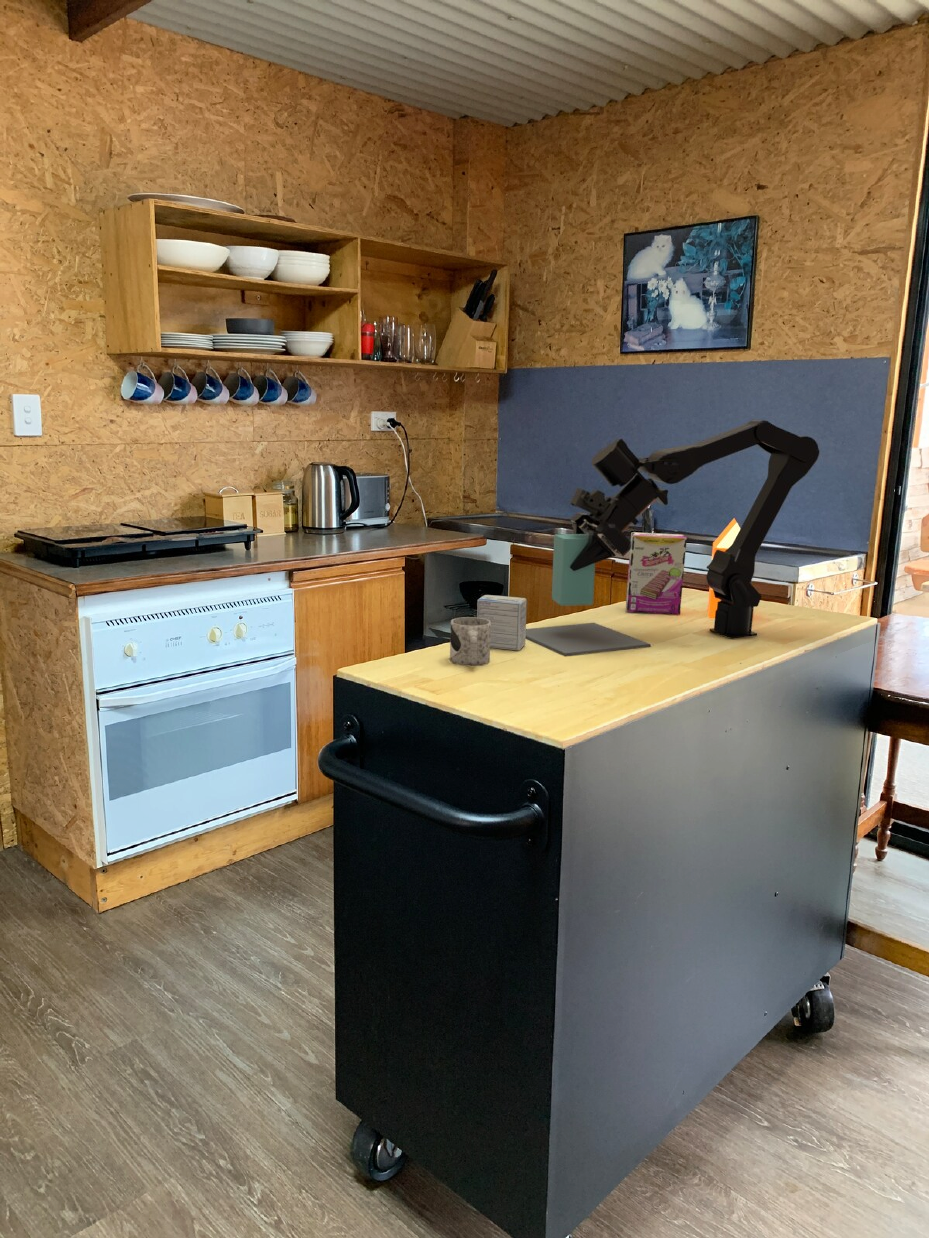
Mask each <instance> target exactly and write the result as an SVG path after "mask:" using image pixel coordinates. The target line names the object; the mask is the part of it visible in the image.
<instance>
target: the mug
mask: <svg viewBox="0 0 929 1238" xmlns="http://www.w3.org/2000/svg"><path fill="white" fill-rule="evenodd" d="M449 636H450V638H449V640H450V641H449V642H450V643H449V661H450V663H452V664H455V665H458V666H466V667H479V666H484V665H488V664H490V662H491V648H490V637H491V621H490V620H487V619H484V618H477V616H476V617H473V616H471V617H470V616H466V617H465V616H463V617H456V618H453V619H451V620H450V635H449Z"/></svg>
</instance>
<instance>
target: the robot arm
mask: <svg viewBox="0 0 929 1238" xmlns="http://www.w3.org/2000/svg"><path fill="white" fill-rule="evenodd" d="M755 446H758V447H759V448H760V449H762V450H763V451H764V452H766V453H768V454H770V456H769V459H768V465H767V467H768V469H767V478H766V479H765V481H764V483H763V485H762V486H761V489H760V491H759V493H758V495H757V497H756V498H755V500H754V502H753V504H752V506H751V508H750V510H749V512H748V514H747V515H746V517H745V519H744V521H743V523H742V525H741V527H740V528H741V529H740V531H739V532H738V534H737V536H736V538H735V540H734V542H733V544H732V545H731V546H730V547H729V548H728V549H727V550H726V551H721V550H716V552H715V554H714V557H713V559H712V558H711V562H710V563H708V565H707V566H706V569H707V573H706V576H705V578H706V581H707V584H708V586H709V588H711V589H713V592H714V596H715V598H717V599H720V600H721V601H719V602H718V603H717V610H716V611H715V619H714V624H713V627H712V628H709V630H708V631H709V632H711V633H714V634H717V635H720V636H722V637H726V638H729V639H739V638H740V639H741V638H749V637H757V636H758V632H755V631H752V629H753V619H754V608H756V607H758V606H759V604H760V603H761V599H762V594H761V593H760V592H758V590H757V589H756V588H755V587H754V586H753V585H752V580H753V577H754V575H755V571H756V568H755V567H756V556H757V554H758V552H759V551H760V548H761V546H762V544H763V543H764V541H765V539H766V537H767V536H768V533H769V532H770V529H771V527H772V525H773V524H774V522H775V520H776V518H777V516H778V514H779V512H780V511H781V509H782V507H783V506H784V503H785V502H786V499H787V497H788V495H789V493H790V491H791V490H792V488H793V487H794V486H795V485H796V484H797V483H798V482H800V481H801V480H802V479H803V478H805V476H807V474H808V473H809V472H810V471H811V469H812V468H813V466H814V465H815V464H816V462H817V461H818V459H819V456H820V448H819V445H818V443H817V442H816V440H815V439H814V438H812V437H810V436H805V435H803V436H802V435H798V434H795V433H793V432H790V431H788V430H785V429H783V428H780V427H778V426H777V425H775V424H772V423H771V422H769V421H768V420H763V419H762V420H761V419H759V420H758V419H755V420H754V419H753V420H750V421H748V422H747V423H745V424H742V425H739V426H738V427H735V428H733V429H730V430H727V431H724V432H723V433H719V434H717V435H715V436H712V437H709V438H706V439H704V440H701V441H699V442H695V443H693V444H688V445H682V446H675V447H670V448H669V447H668V448H665V449H664V448H663V449H658V450H656V451H653V452H651V454H649V456H648V457H647V456H646V457H637V456H636V455H635V454H634V453H633V451H631V449H630V448H629V446H628V444H627V443H626V441H624V440H623V438H616V439H615V440H614V441H613V442H612V443H610V444H608V445H607V446H605V447H604V448H601V449H600V450H599V451H598V452H596V454H595V455H594V456H593V458H592V459H591V461H590V464H591V466H593V468H594V469H595V470H596V471H597V472H598V474H600V476H601V477H603V479H604V480H605V481H606V482H607V483H608V485H610V487H615V486H618V487H620V488H621V487H622V488H621V489H619V491H618V492H617V493H616V494H615V495H614V496H613V497H612V496H607V497H606V496H605V494H606V493H604V492H603V491H601V490H598V489H593V490H592V491H591V492H590V491H587V490H585V489H582V488H576V489H575V491H574V494H573V496H572V498H571V500H570V502H569V505H572V506H573V507H578V508H579V509H582V510H584V511H586V512H587V513H585V512H576V513H575V514H574V515H573V516H572V517H571V518H570V522H571V523H572V526H571V527H572V529H573V534H587V535H589V539H588V543H587V545H586V546H585V547H584V548H583V550H582V551H581V552H580V554H579V555H578V556H577V557H576V559H575V560H574V561H573V563H572V564H571V566H570V568H571V569H572V570H573V571H576V570H578V569H581V568H583V567H586V566H589V565H591V564H594V563H595V564H596V563H598V562H602V561H604V560H607V559H610V558H615V557H617V555H618V556H621V557H623V558H624V557H625V556H626V555H627V553H629V552H630V549H631V539H629V538H628V537H627V535H625V534H624V532H625V531H626V530H627V529H629V527H630V526H631V525H633V526H636V525H637V524H638V523H640V521H639V520H638V518H639V517H640V516H641V515H642V514H643V513H644V512H645V511H646V510H647V509H648V508H649V507H650V506H651V505H652V504H653V503H654V502H657V504H660V505H664V506H667V505H668V504H669V501H668V500H669V499H668V498H669V497H668V494H669V489H665V488H660V486H659V485H658V484H657V483H656V482H658V483H661V484H669V485H675V484H678V483H680V482H682V481H683V480H685V479H687V478H688V477H690V476H692V475H693V474H695V473H696V472H697V471H698V470H699V469H700V468H702V467H704V466H705V465H706V464H710V463H712V462H714V461H717V460H720V459H722V458H725V457H728V456H731V455H733V454H735V453H738V452H741V451H743V450H746V449H748V448H751V447H755ZM641 472H642V473H645V474H647V475H648V476H649V478H645V477H644V476H643V474H642V473H641ZM615 553H616V554H617V555H616V554H615Z"/></svg>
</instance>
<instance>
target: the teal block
mask: <svg viewBox="0 0 929 1238" xmlns="http://www.w3.org/2000/svg"><path fill="white" fill-rule="evenodd" d="M553 536H554V537H553V558H552V559H553V560H552V583H551V584H552V586H551V587H552V588H551V599H552V600H553V601H554V603H557V604H558V605H559V606H562V607H563V606H593V605H594V588H595V572H596V571H595V570H596V563H594V564H591V565H589V566H586V567H583V568H581V569H578V570H576V571H573V570H572V569H571V568H570V566H571V564H572V563H573V561H574V560H575V559H576V557H577V556H578V555H579V554H580V552H581V551H582V550H583V548H584V547H585V546H586V545H587V543H588V539H589V535H587V534H574V533H571V534H569V533H563V534H562V533H561V534H556V533H555V534H554V535H553Z"/></svg>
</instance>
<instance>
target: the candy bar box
mask: <svg viewBox="0 0 929 1238" xmlns="http://www.w3.org/2000/svg"><path fill="white" fill-rule="evenodd" d="M630 541H631V549H630V550H629V558H628V560H629V562H628V570H627V571H628V573H627V574H628V575H627V585H626V598H625V609H626V612H627V613H639V614H656V615H678V616H680V614H681V609H682V607H681V606H682V595H683V584H684V575H685V574H684V572H685V560H686V550H687V537H686V536H685V534H676V533H675V534H674V533H673V534H672V533H656V532H655V533H654V532H653V533H652V532H636V531H633V532H631V533H630Z"/></svg>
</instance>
